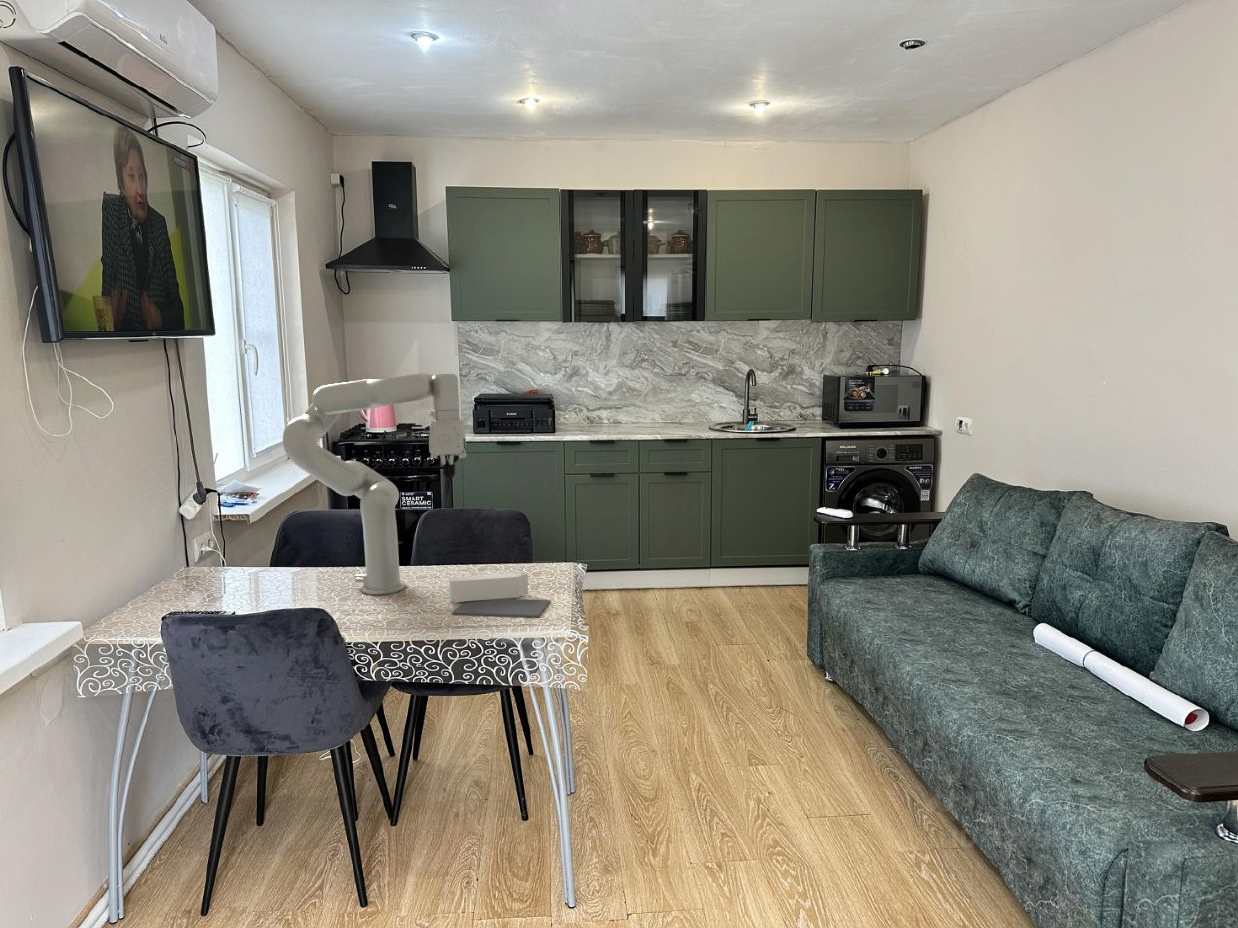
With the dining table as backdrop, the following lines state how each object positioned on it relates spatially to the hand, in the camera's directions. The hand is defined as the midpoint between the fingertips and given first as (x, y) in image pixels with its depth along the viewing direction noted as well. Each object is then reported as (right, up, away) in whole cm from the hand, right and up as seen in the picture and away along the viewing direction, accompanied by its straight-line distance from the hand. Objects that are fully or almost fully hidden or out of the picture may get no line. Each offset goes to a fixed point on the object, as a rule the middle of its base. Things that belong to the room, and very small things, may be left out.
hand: (449, 477), depth 233 cm
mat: (+18, -36, -18) cm, 44 cm away
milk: (+3, -31, -13) cm, 34 cm away
